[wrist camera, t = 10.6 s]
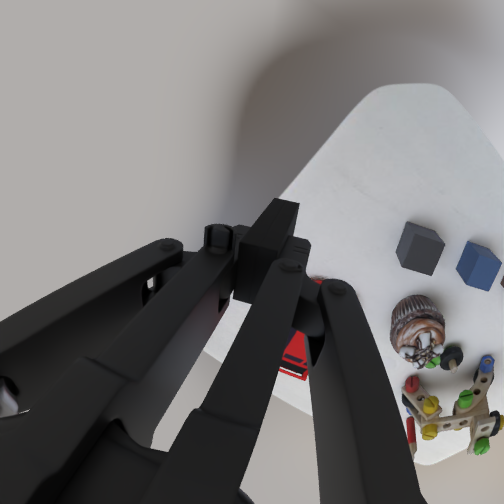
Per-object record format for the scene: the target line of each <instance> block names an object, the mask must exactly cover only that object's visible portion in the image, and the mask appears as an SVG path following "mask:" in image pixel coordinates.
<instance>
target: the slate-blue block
mask: <svg viewBox="0 0 504 504" xmlns="http://www.w3.org/2000/svg"><path fill="white" fill-rule="evenodd" d="M501 264H502V262H501V261H500V260H499V259H498V258H497V257H496V256H495V255H494V254H493V253H492V252H491V250H490V249H488V248H485V247H483V246H480V245H477V244H475V243H472V242H469V241H467V244H466V246H465V249H464V251H463V253H462V256H461V258H460V261H459V263H458V265H457V268H456V270H457V271H458V273H459V274H460V276H461V278H462V279H463V281H464V282H465V284H466V285H468V286H472V287H475V288H478V289H482V290H485V291H489V290H490V288H491V286H492V284H493V282H494V280H495V277H496V275H497V273H498V271H499V269H500V267H501Z"/></svg>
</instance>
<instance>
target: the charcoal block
mask: <svg viewBox="0 0 504 504" xmlns="http://www.w3.org/2000/svg"><path fill="white" fill-rule="evenodd" d="M444 246H445V243H444V242H443V241H442V239H441V238H440V237H439V236H438V234H437V233H436V232H435V231H433V230H431V229H428V228H425V227H422V226H419V225H416V224H413V223H410V222H406V225H405V228H404V231H403V234H402V236H401V239H400V242H399V245H398V247H397V250H396V254H397V256H398V259H399V261H400V264H401V266H402V267H403V268H406V269H410V270H413V271H416V272H420V273H423V274H426V275H430V276H432V274H433V272H434V270H435V267H436V265H437V263H438V261H439V258H440V256H441V254H442V251H443V249H444Z"/></svg>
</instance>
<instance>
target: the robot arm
mask: <svg viewBox="0 0 504 504" xmlns="http://www.w3.org/2000/svg"><path fill="white" fill-rule="evenodd" d="M299 204H300V203H296V202H291V201H287V200H282V199H278V198H274V199H273V200H272V202H271V203H270V204H269V205H268V207H267V208H266V209H265V211H264V212H263V213H262V214H261V215H260V217H259V218H258V219H257V221H256V222H255V223H254V224H253V225H252V227H248V226H244V225H237V226H234V227H232V226H228V225H224V224H211V225H208V226H206V227H205V233H204V246H203V247H202V248H201V249H200V250H199V251H198V252H188V251H183V244H182V243H181V242H180V241H178V240H175V239H172V238H165V239H160V240H157V241H154V242H152V243H150V244H148V245H146V246H144V247H142V248H140V249H137V250H135V251H133V252H131V253H129V254H127V255H125V256H123V257H121V258H119V259H117V260H115V261H113V262H111V263H108V264H107V265H105V266H102V267H101V268H98V269H97V270H95V271H93V272H91V273H89V274H87V275H85V276H83V277H81V278H79V279H77V280H75V281H74V282H71V283H69V284H67V285H66V286H64V287H62V288H60V289H58V290H56V291H54V292H52V293H51V294H49V295H47V296H45V297H43V298H41V299H40V300H38V301H36V302H34V303H33V304H31V305H29V306H27V307H25V308H23V309H22V310H20V311H18V312H17V313H15V314H13V315H11V316H9V317H8V318H6V319H4V320H3V321H1V322H0V504H254V502H253V501H252V500H251V499H250V498H249V497H248V495H247V494H245V493H244V492H243V491H242V490H241V489H240V488H239V487H240V484H241V482H242V479H243V477H244V474H245V471H246V469H247V466H248V463H249V460H250V457H251V454H252V452H253V449H254V446H255V443H256V441H257V437H258V435H259V432H260V428H261V425H262V422H263V419H264V416H265V413H266V410H267V407H268V403H269V400H270V397H271V394H272V391H273V387H274V384H275V381H276V378H277V374H278V371H279V368H280V364H281V361H282V357H283V354H284V351H285V347H286V344H287V340H288V336H289V333H290V329H291V327H292V328H294V329H296V330H297V331H299V332H301V333H303V334H305V335H304V344H305V352H306V360H307V368H308V376H309V384H310V393H311V402H312V411H313V421H314V431H315V441H316V453H317V465H318V476H319V491H320V504H427V502H426V501H425V499H424V498H423V496H422V494H421V492H420V488H419V483H418V479H417V475H416V470H415V466H414V462H413V458H412V454H411V451H410V447H409V443H408V440H407V436H406V432H405V429H404V426H403V422H402V419H401V416H400V412H399V409H398V406H397V403H396V400H395V396H394V393H393V390H392V387H391V384H390V381H389V378H388V376H387V373H386V370H385V367H384V364H383V361H382V359H381V356H380V353H379V350H378V348H377V345H376V342H375V340H374V337H373V334H372V332H371V329H370V327H369V324H368V322H367V319H366V317H365V314H364V312H363V309H362V307H361V304H360V302H359V300H358V297H357V295H356V292H355V290H354V289H353V287H352V286H351V285H349V284H348V283H347V282H345V281H342V280H338V279H326V280H324V281H323V282H322V283H321V284H319V283H317V282H315V281H313V280H312V279H311V278H309V277H308V275H307V274H306V266H307V262H308V257H309V253H310V249H311V244H310V242H309V241H308V240H307V239H303V238H298V237H294V236H293V234H294V229H295V224H296V219H297V214H298V209H299ZM152 277H153V287H151V288H148V285H147V280H149V279H151V278H152ZM233 290H234V293H233V299H235V300H238V301H242V302H245V303H249V304H252V305H251V307H250V309H249V311H248V313H247V316H246V318H245V320H244V322H243V324H242V326H241V328H240V330H239V332H238V334H237V336H236V338H235V340H234V342H233V344H232V346H231V348H230V350H229V352H228V354H227V356H226V358H225V360H224V362H223V364H222V366H221V368H220V370H219V372H218V374H217V376H216V377H215V379H214V381H213V383H212V385H211V387H210V389H209V391H208V393H207V395H206V397H205V399H204V401H203V403H202V404H201V406H200V407H199V408H197V409H194V410H193V411H192V412H191V413H190V414H189V416H188V417H187V419H186V420H185V422H184V424H183V426H182V428H181V430H180V431H179V433H178V435H177V437H176V439H175V441H174V442H173V444H172V446H171V448H170V450H169V452H164V451H160V450H155V449H151V448H150V447H151V444H152V439H153V434H154V431H155V429H156V427H157V425H158V424H159V422H160V420H161V419H162V417H163V415H164V413H165V412H166V410H167V409H168V407H169V405H170V404H171V402H172V400H173V399H174V397H175V395H176V394H177V392H178V390H179V389H180V387H181V385H182V384H183V382H184V380H185V378H186V377H187V375H188V374H189V372H190V370H191V368H192V367H193V365H194V363H195V362H196V360H197V358H198V356H199V355H200V353H201V351H202V350H203V348H204V347H205V345H206V343H207V341H208V340H209V338H210V336H211V335H212V333H213V331H214V330H215V328H216V326H217V325H218V323H219V321H220V319H221V318H222V316H223V314H224V313H225V311H226V309H227V308H228V306H229V302H230V295H231V293H232V291H233ZM29 409H30V410H29ZM26 410H29V411H28V412H24V413H20V412H23V411H26ZM19 413H20V414H19Z"/></svg>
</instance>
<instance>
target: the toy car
mask: <svg viewBox="0 0 504 504" xmlns="http://www.w3.org/2000/svg"><path fill="white" fill-rule="evenodd" d="M313 281H315V282H317V283H319V284H321V283H322V281H321V280H313ZM304 335H305V334H303V333H301V332H299V331H297V330H296V329H294V328H292V327H291V329H290V333H289V336H288V340H287V344H286V347H285V351H284V354H283V357H282V361H281V364H280V367H283V368H286V369H288V370H291V371H293V372H295V373H300V374H302V376H298V375H296V374H293V373H290V372H288V371H285V370H283V369H280V368H279V371H280V372H283V373H285V374H288V375H290V376H293V377H296V378H298V379H301V380H304V381H305V380H306V379H307V375H308V368H307V360H306V352H305V344H304Z"/></svg>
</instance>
